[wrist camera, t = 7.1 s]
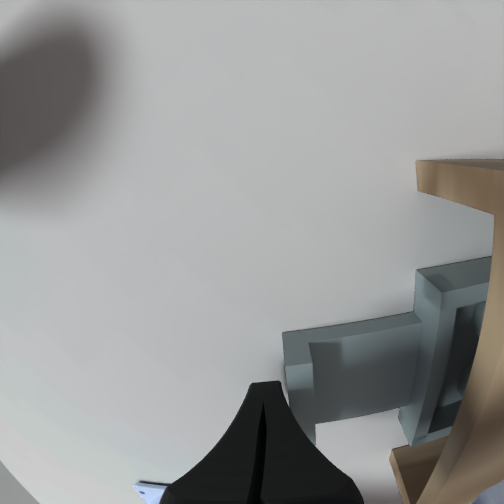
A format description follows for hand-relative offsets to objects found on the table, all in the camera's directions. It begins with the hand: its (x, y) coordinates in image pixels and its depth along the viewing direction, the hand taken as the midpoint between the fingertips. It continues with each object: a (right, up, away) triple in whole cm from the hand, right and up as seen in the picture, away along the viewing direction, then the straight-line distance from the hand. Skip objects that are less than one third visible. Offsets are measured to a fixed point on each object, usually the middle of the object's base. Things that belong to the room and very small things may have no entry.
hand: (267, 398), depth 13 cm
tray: (+8, +1, +1) cm, 9 cm away
